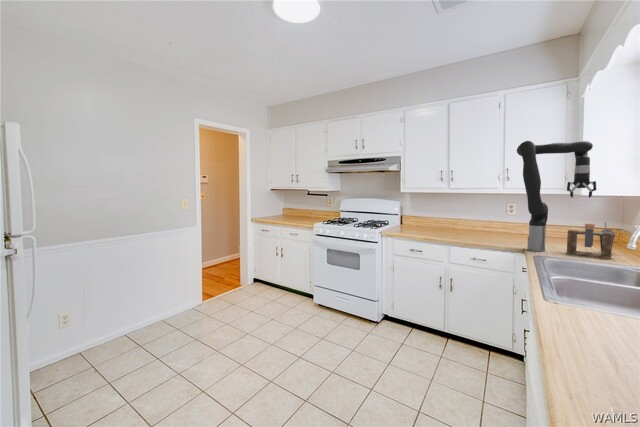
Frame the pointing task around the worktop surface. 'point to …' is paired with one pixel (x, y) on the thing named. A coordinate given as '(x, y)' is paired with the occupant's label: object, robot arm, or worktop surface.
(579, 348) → the worktop surface
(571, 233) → the hook stand
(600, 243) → the beverage cup
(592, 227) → the peach and grey blocks
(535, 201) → the robot arm
